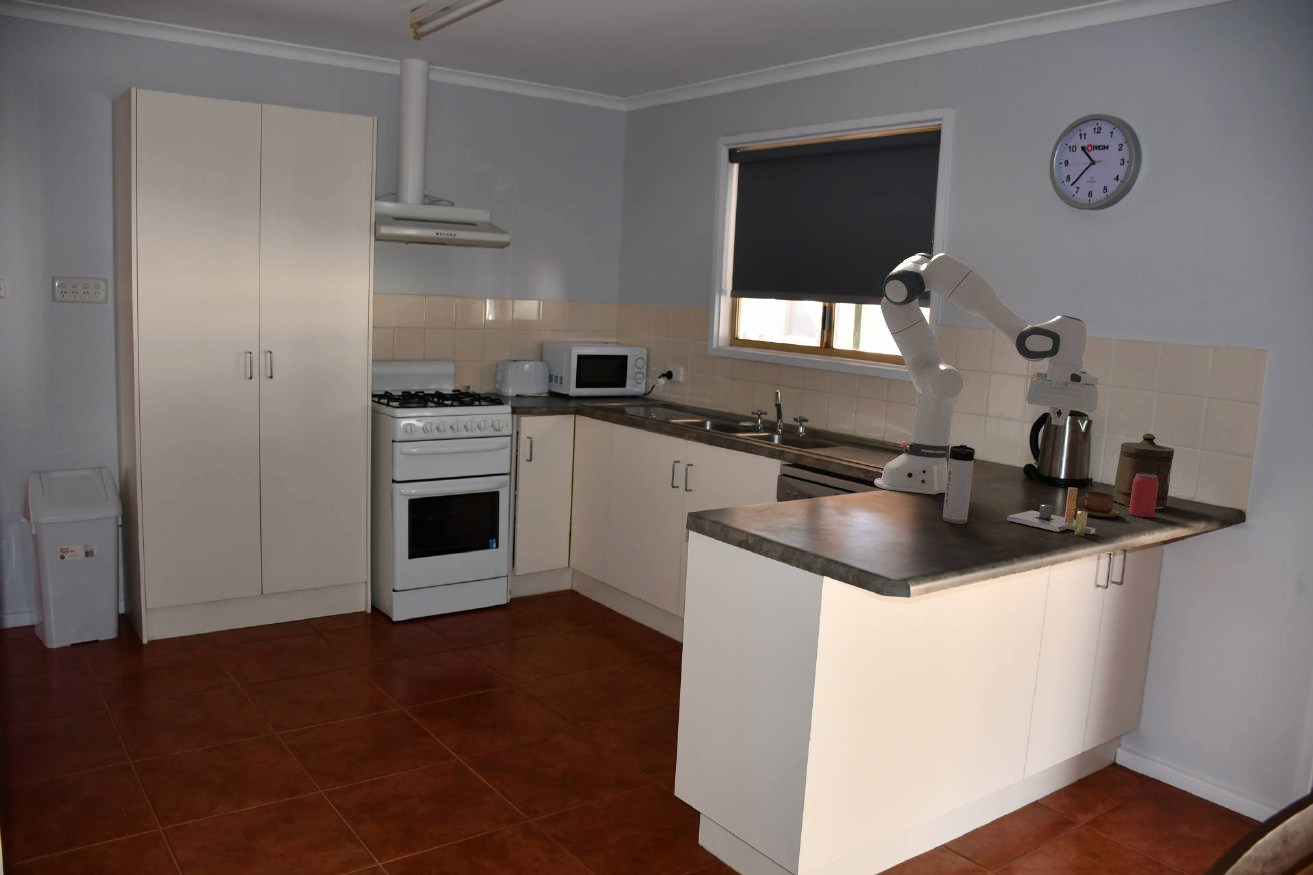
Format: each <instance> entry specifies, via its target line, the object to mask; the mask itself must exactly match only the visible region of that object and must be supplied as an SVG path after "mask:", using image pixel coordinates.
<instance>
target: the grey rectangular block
mask: <svg viewBox="0 0 1313 875" xmlns="http://www.w3.org/2000/svg"><path fill="white" fill-rule="evenodd" d="M1038 512H1039V519H1042V520H1047V521H1050V520H1051V515H1053V514H1052V513H1053V505H1049V504H1040V505H1039V511H1038Z"/></svg>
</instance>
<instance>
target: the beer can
mask: <svg viewBox="0 0 1313 875" xmlns="http://www.w3.org/2000/svg"><path fill="white" fill-rule="evenodd" d="M1157 477H1158V476H1156V475H1152V474H1146V473H1137V474H1136V476H1135V478H1134V480H1133V486H1132V493H1131V501H1130V507H1129V509H1128V513H1129V515H1131V516H1133V515H1135V516H1134V517H1137V516H1139V517H1138V518H1143V517H1151V518H1153V517H1154V516H1155V511H1156V510H1155V506H1156V499H1157V492H1158V485H1159V483H1158V479H1157Z"/></svg>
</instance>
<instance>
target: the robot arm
mask: <svg viewBox="0 0 1313 875" xmlns="http://www.w3.org/2000/svg"><path fill="white" fill-rule="evenodd" d="M928 291H933V292H935V293H937V294H938V295H940V296H941V297H942V298H944V299H945V300H946V301H947V302H948V303H950V304H951V305H953V306H955V307H956V308H958V309H959V310H961V311H963V312H964V313H967V314H968V315H971V316H975V317H978V318H980V319H982V320H985V321H986V322H988V323H989V324H991V325H992V326H993V327H995V328H996V329H997V330H998V331H1000V332H1001V333H1002V334H1003V335H1005V336H1006V337H1007V338H1008V339H1009V340H1010V341H1012V343H1013V344H1014V346H1015V349H1016V351H1017V353H1018V354H1019V356H1021V357H1022V358H1023V359H1024V360H1025V361H1028V362H1040V361H1044V360H1045V359H1047V360H1048V363H1047V364H1048V367H1047V372H1044V373H1043V372H1040V371H1039V372H1036V373H1034V374H1033V375H1032V376H1031V377H1030V381H1029V382H1030V383H1029V387H1028V391H1027V394H1026V402H1027V404H1028V405H1035V406H1042V407H1046V408H1047V407H1048V408H1049V409H1048V412H1049V415H1050V417H1051V424H1052V425H1057V426H1064V425H1065V421H1066V418H1068V416H1069V415H1070V413H1071V411H1079V412H1085V413H1095V411H1096V410H1097V408H1098V401H1099V389H1098V387H1097V385H1098V383H1099V377H1098V376H1096V375H1094V374H1092V373H1090V372H1088V371H1086V370H1084V369H1083V367H1084V362H1083V357H1084V353H1085V351H1086V347H1087V346H1086V345H1087V326H1086V323H1085V322H1084V321H1083V320H1082V319H1079V318H1077V317H1074V316H1073V317H1072V316H1070V315H1069V316H1068V315H1065V314H1064V315H1061V314H1060V315H1057V316H1056V317H1054V318H1052V319H1050V320H1048V321H1044V322H1042V323H1038V324H1035V325H1033V324H1031V323H1029V322H1027V321H1025V320H1024V319H1022V318H1021V317H1020V316H1019V315H1017V314H1016V313H1015V312H1013V311H1012V310H1010V309H1009V308H1008V307H1007V306H1006V305H1004V304H1003V302H1002V301H1001V299H999V297H998V296H997V295H996V292H995V291H994V290H993V288H992V287H991V285H990V284H989V283H988V282H987V281H986V279H985V278H984V277H982V275H981V274H980V273H978V272H977V271H976V270H975V269H973V268H972V267H971V266H969V265H968V264H967V263H965V262H964V261H962V260H960V259H958V258H956V257H955V256H953V255H951V254H949V253H944V252H943V253H939V254H937V255H935V256H933V255H931V254H930V253H926V252H919V253H916V254H913V255H911V256H909V257H908V258H906V259H904V260H903V261H902V262H900V263H899V264H898V265H897V266H896V267H894V269H893V270H892V271H890V272H889V273H888V274H887V276H886V278H884V281H883V283H882V293H883V298H882V300H881V301H880V310H881V313H882V316H883V319H884V322H885V324H886V327H887V328H888V331H889V332H890V336H891V337H892V339H893V341H894V342H895V345H896V346H897V349H898V350H899V352H900V354H901V356H902V359H903V361H904V363H905V364H904V365H905V367H906V369H907V372H908V375H909V377H910V379H911V383H912V385H913V387H914V388H915V390H916V391H917V393H919V394H920V395H921V396H920V400H919V403H918V406H917V409H916V412H915V413H914V417H913V421H912V422H913V424H912V433H911V440H910V441H908V442H906V441H904V440H902V441H901V442H900V447H901V448H903V453H902V454H900V455H899V456H897V457H895V458H894V459H892V460H890V461H888V462H887V463H886V464H885V465H884V468H883V471H882V474H881V478H880V477H878V478H875V479H874V482H873V484H874V486H876V487H878V488H881V489H883V490H890V491H899V492H909V493H916V494H917V493H919V494H929V495H937V494H940V493H941V494H942V493H944V494H945V491H946V482H947V472H948V463H949V456H950V448H951V446H950V444H949V443H950V434H951V425H952V420H953V415H954V411H955V408H956V405H957V402H958V398H959V395H960V394H961V392H962V390H963V387H964V379H963V377H962V374H961V373H960V372H959V371H958V370H957V369H956V368H955V366H953V365H950V364H947V363H945V362H944V360H943V358H942V356H941V353H940V350H939V347H938V343H937V338H936V336H935V334H934V332H933V330H932V328H931V327H930V326H931V325H930V324H929V323H928V320H927V319H926V316H925V315H924V313H923V311H922V309H921V307H920V305H919V298H920V297H922V296H923V295H924V294H925V293H926V292H928ZM1059 409H1060V413H1061V415H1060V417H1059V416H1058V414H1057V412H1059Z"/></svg>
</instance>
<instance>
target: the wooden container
mask: <svg viewBox="0 0 1313 875" xmlns="http://www.w3.org/2000/svg"><path fill="white" fill-rule="evenodd" d="M1142 439H1143V440H1141V441H1139V442H1130V441H1129V442H1122V443H1121V444H1120V451H1119V456H1118V461H1117V462H1118V463H1117V469H1116V473H1115V480H1114V489H1113V494H1112V495H1113V496H1114V500H1115V501H1117V502H1120V503H1122V504H1125V505H1130V501H1131V493H1132V486H1133V480H1134V478H1135V476H1136V474H1137V473H1146V474H1152V475H1156V476H1158V477H1157V479H1158V483H1159V485H1158V492H1157V499H1156V506H1155V508H1156V507H1165V506H1166V507H1167V502H1168V495H1169V490H1170V483H1171V482H1170V480H1171V472H1172V467H1173V466H1172V465H1173V460H1174V454H1175V449H1174V448H1172V447H1169V446H1165V445H1158V444H1157V443H1156V442H1155V441H1154V440H1156V436H1155V435H1154V434H1153V433H1144V434H1143V435H1142Z"/></svg>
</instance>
